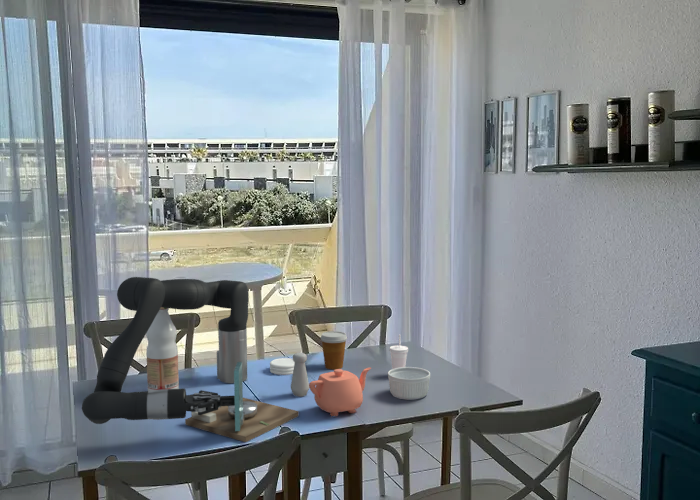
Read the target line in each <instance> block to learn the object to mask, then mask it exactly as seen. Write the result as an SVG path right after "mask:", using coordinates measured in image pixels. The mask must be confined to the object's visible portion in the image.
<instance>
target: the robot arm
mask: <svg viewBox="0 0 700 500" xmlns="http://www.w3.org/2000/svg"><path fill="white" fill-rule="evenodd" d="M249 293H250V292H249V288H248V285H247V284H246V283H245V282H244V281H240V280H228V279H223V280H221V279H220V280H217V281H209V282H207V281H204V280H201V279H197V278H196V279H195V278H174V279H163V280H160V279H158V278H155V277H142V276H132V277H129V278H126V279H125V280H124V281H122V282H121V283H120V284H119V286H118V288H117V292H116V297H117V300H118V302H119V304H120V305H121V306H122V307H123V308H124V309H127V310H129V311H134V312H135V314H134V315H133V318H132V319H131V321H130V322H129V324H128V325H127V326H126V327H125V329H124V330H122V332H121V333H120V334H119V335H118V336H117V337H116V338H115V339H114V340H113V342H112V343H111V344H110V345H109V347H108V348H107V350H106V352H105V354H104V356H103V357H102V360H101V363H100V365H99V367H98V368H99V369H98V371H97V374H96V385H95V388H94V389H93V392H92V393H90V394H88V395H87V396H86V397H85V398H84V399H83V400H82V404H81V410H82V413H83V415H84V416H85V418H87V419H88V420H89V421H90V422H92V423H94V424H95V425H96V424H97V425H103V424H105V423H107V422H109V421H110V420H112V419H114V420H115V419H116V420H117V419H125V420H128V421H142V420H155V421H156V420H157V421H160V420H161V421H162V420H177V419H186V417H187V412H189V413H191V412H198V415H203V414H206V413H209V412H212V411H216V410H218V408H220V407H221V406H234V405H235V395H234V394H233V395H221V394H219V393H218V392H213V391H207V390H202V389H200V390H198V392H193V393H192V394H187V390H186V388H182V387H181V388H179V389H162V390H153V391H148V390H144V391H132V392H131V391H130V392H123V391H122V390H123V386H124V382H125V380H126V378H127V376H128V373H129V371H130V368H131V365H132V363H133V360H134V358H135V355H136V353H137V350H138V349H139V347H140V345H141V343H142V341H143V339H144V338H145V336H146V333H147V331H148V329H149V328H150V326H151V324H152V322H153V320H154V319H155V317H156V315H157V313H158V312H159V310H160V308H161V307H164V308H169V309H173V310H180V311H181V310H182V311H184V310H185V311H187V310H197V309H202V308H203V307H205V306H212V307H217V308H223V309H230V314H229V316H228V317H224V318H221V319H220V320H218V323H217V329H218V331H217V333H218V334H217V335H218V350H217V351H216V379H217V380H219V381H220V382H222V383H225V384H234V370H235V367H236V365H237V362H242V383H243V382H245V381H247V380H248V340H247V339H248V336H247V332H248V331H247V323H248V321H249V298H250V297H249Z"/></svg>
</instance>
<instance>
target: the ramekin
mask: <svg viewBox="0 0 700 500" xmlns="http://www.w3.org/2000/svg"><path fill="white" fill-rule="evenodd" d="M387 378H388V383H389V384H388V385H389V391H390V394H391V395H392V396H393V397H395V398H396V399H400V400H406V401H407V400H408V401H415V400H419V399H423V398H424V397H426V396H427V395H428V392H429V387H430V379H431V372H430V371H429V370H427V369H425V368H421V367H415V366H414V367H413V366H405V367H400V368H395V369H390V370H389V371H388V372H387Z"/></svg>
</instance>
